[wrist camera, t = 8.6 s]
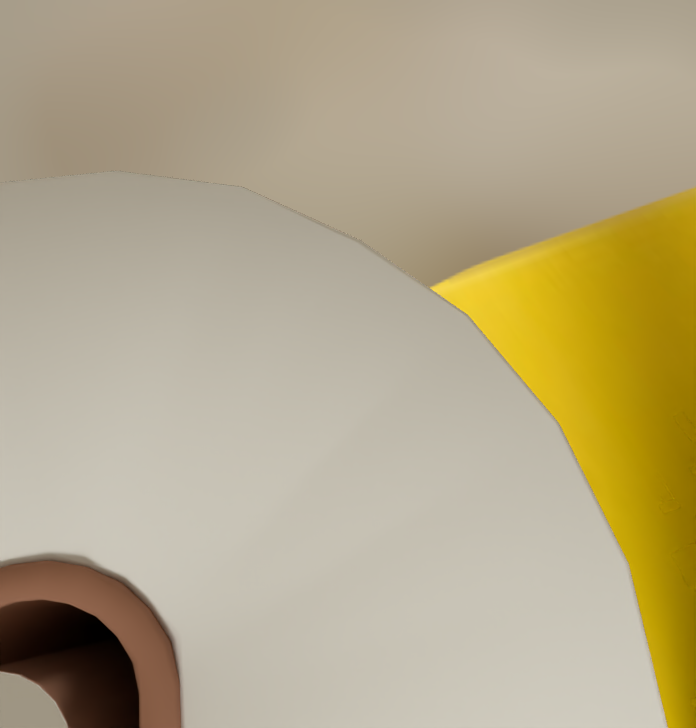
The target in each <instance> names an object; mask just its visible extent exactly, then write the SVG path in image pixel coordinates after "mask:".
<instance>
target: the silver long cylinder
mask: <svg viewBox="0 0 696 728" xmlns="http://www.w3.org/2000/svg"><path fill="white" fill-rule="evenodd" d="M0 728H668V727H667V722H666V718H665V714H664V710H663V706H662V702H661V697H660V693H659V689H658V685H657V681H656V677H655V672H654V668H653V664H652V660H651V656H650V651H649V647H648V643H647V639H646V635H645V631H644V626H643V622H642V618H641V614H640V610H639V605H638V601H637V597H636V593H635V589H634V585H633V580H632V576H631V572H630V568H629V564H628V562H627V560H626V558H625V556H624V554H623V552H622V550H621V548H620V546H619V544H618V542H617V540H616V538H615V535H614V533H613V531H612V529H611V527H610V525H609V523H608V521H607V519H606V517H605V515H604V513H603V511H602V509H601V507H600V505H599V503H598V501H597V499H596V497H595V495H594V493H593V491H592V489H591V487H590V485H589V483H588V481H587V479H586V477H585V475H584V473H583V471H582V469H581V467H580V465H579V463H578V461H577V459H576V457H575V455H574V453H573V451H572V449H571V447H570V445H569V443H568V441H567V439H566V437H565V435H564V433H563V431H562V429H561V427H560V425H559V423H558V422H557V420H556V419H555V418H554V417H553V416H552V415H551V413H550V412H549V411H548V410H547V409H546V407H545V406H544V405H543V404H542V403H541V401H540V400H539V399H538V398H537V397H536V396H535V394H534V393H533V392H532V391H531V390H530V388H529V387H528V386H527V385H526V384H525V382H524V381H523V380H522V379H521V378H520V377H519V375H518V374H517V373H516V372H515V371H514V369H513V368H512V367H511V366H510V365H509V363H508V362H507V361H506V360H505V359H504V357H503V356H502V355H501V354H500V353H499V352H498V350H497V349H496V348H495V347H494V346H493V344H492V343H491V342H490V341H489V340H488V338H487V337H486V336H485V335H484V334H483V333H482V331H481V330H480V329H479V328H478V327H477V325H476V324H475V323H474V322H473V321H472V319H471V318H470V317H469V316H468V315H467V314H466V313H464V312H463V311H461V310H460V309H458V308H457V307H456V306H454V305H453V304H451V303H450V302H448V301H447V300H446V299H444V298H443V297H441V296H440V295H438V294H437V293H436V292H434V291H433V290H431V289H430V288H428V287H427V286H425V285H424V284H423V283H421V282H420V281H418V280H417V279H415V278H414V277H413V276H411V275H410V274H408V273H407V272H406V271H404V270H402V269H401V268H399V267H398V266H397V265H395V264H394V263H393V262H391V261H390V260H388V259H387V258H385V257H384V256H383V255H381V254H380V253H378V252H377V251H375V250H374V249H373V248H371V247H370V246H368V245H367V244H365V243H364V242H362V241H361V240H359V239H357V238H355V237H352V236H350V235H348V234H346V233H344V232H341V231H339V230H337V229H335V228H332V227H330V226H328V225H326V224H324V223H321V222H319V221H317V220H315V219H312V218H310V217H308V216H306V215H304V214H301V213H299V212H297V211H295V210H293V209H290V208H288V207H286V206H284V205H282V204H279V203H277V202H275V201H273V200H271V199H268V198H266V197H264V196H262V195H260V194H257V193H255V192H253V191H251V190H248V189H246V188H244V187H239V186H232V185H224V184H216V183H208V182H200V181H192V180H185V179H177V178H169V177H162V176H154V175H147V174H138V173H131V172H123V171H110V172H100V173H90V174H80V175H70V176H60V177H51V178H40V179H30V180H21V181H11V182H1V183H0Z"/></svg>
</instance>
